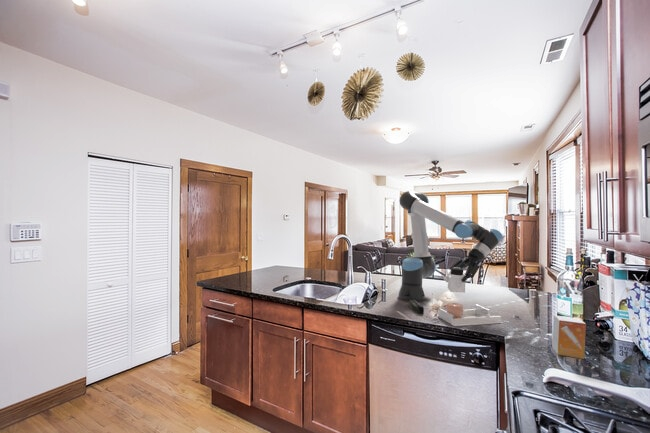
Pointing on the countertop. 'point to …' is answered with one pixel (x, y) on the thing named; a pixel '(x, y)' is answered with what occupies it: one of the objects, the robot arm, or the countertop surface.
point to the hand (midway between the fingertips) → (451, 283)
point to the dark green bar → (416, 306)
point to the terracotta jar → (455, 310)
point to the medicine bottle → (455, 280)
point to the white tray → (468, 318)
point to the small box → (569, 336)
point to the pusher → (481, 311)
